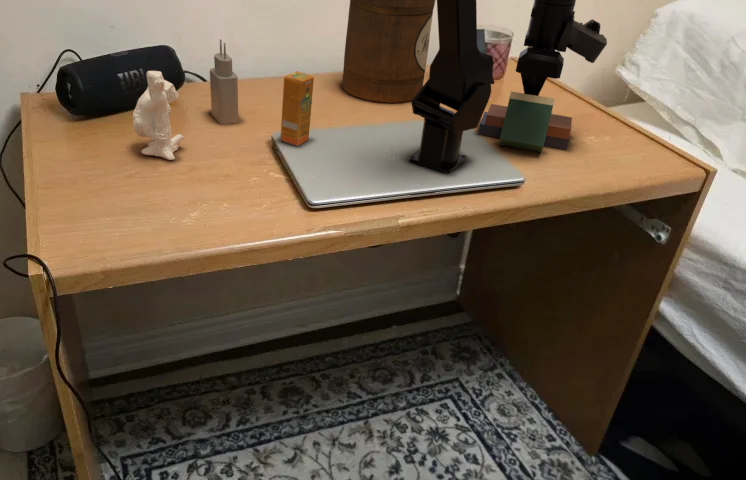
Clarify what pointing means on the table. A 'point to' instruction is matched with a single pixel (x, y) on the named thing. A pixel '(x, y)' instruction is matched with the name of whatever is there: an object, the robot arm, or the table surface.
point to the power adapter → (224, 89)
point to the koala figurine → (157, 116)
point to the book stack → (555, 133)
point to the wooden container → (387, 48)
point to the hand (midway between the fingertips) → (529, 105)
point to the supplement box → (296, 108)
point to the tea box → (526, 121)
